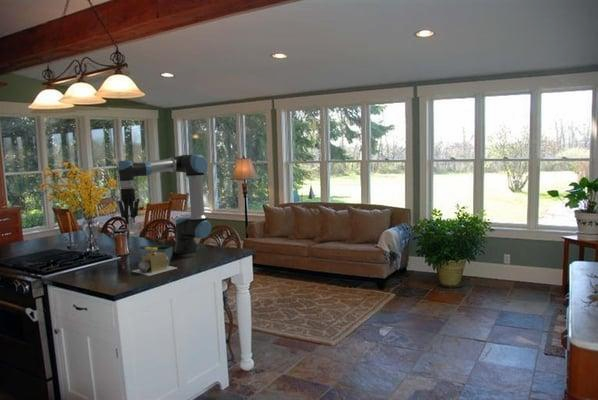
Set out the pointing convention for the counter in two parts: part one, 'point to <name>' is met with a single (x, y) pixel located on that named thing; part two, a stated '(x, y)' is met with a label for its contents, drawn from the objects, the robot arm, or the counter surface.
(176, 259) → the counter surface
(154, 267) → the valve
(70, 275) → the counter surface
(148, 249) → the lever
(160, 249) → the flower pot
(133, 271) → the mat
